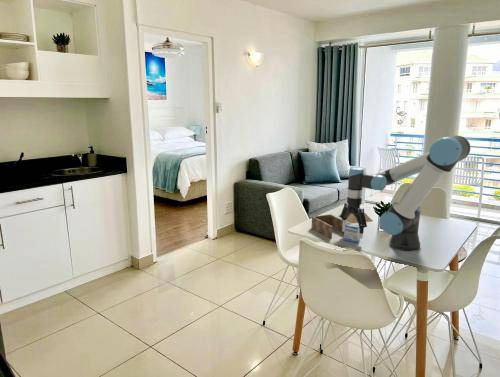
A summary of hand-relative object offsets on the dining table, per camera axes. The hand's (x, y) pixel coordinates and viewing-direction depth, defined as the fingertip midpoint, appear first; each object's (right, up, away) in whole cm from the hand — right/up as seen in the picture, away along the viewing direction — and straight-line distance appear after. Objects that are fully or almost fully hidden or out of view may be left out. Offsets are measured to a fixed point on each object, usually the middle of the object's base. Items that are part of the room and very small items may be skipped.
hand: (352, 234), depth 207 cm
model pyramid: (+12, +5, +40) cm, 42 cm away
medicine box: (0, -3, +1) cm, 3 cm away
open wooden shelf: (-9, 0, +15) cm, 17 cm away
